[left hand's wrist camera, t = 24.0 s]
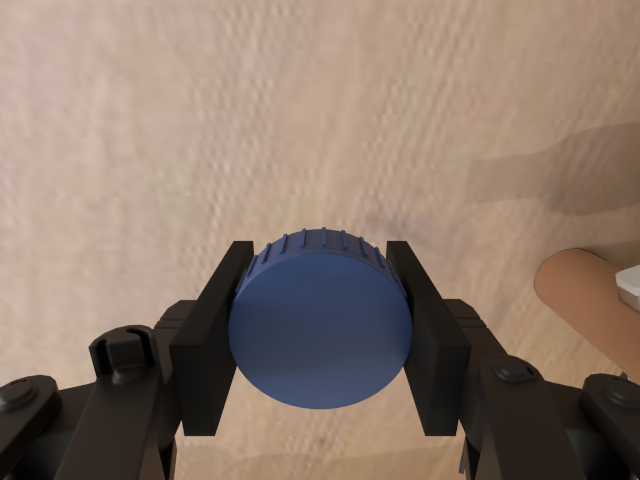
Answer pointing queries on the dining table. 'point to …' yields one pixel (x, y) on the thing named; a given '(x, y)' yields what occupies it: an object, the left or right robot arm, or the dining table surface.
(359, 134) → the dining table surface
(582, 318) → the bottle
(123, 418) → the left robot arm
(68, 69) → the dining table surface
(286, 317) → the lid
